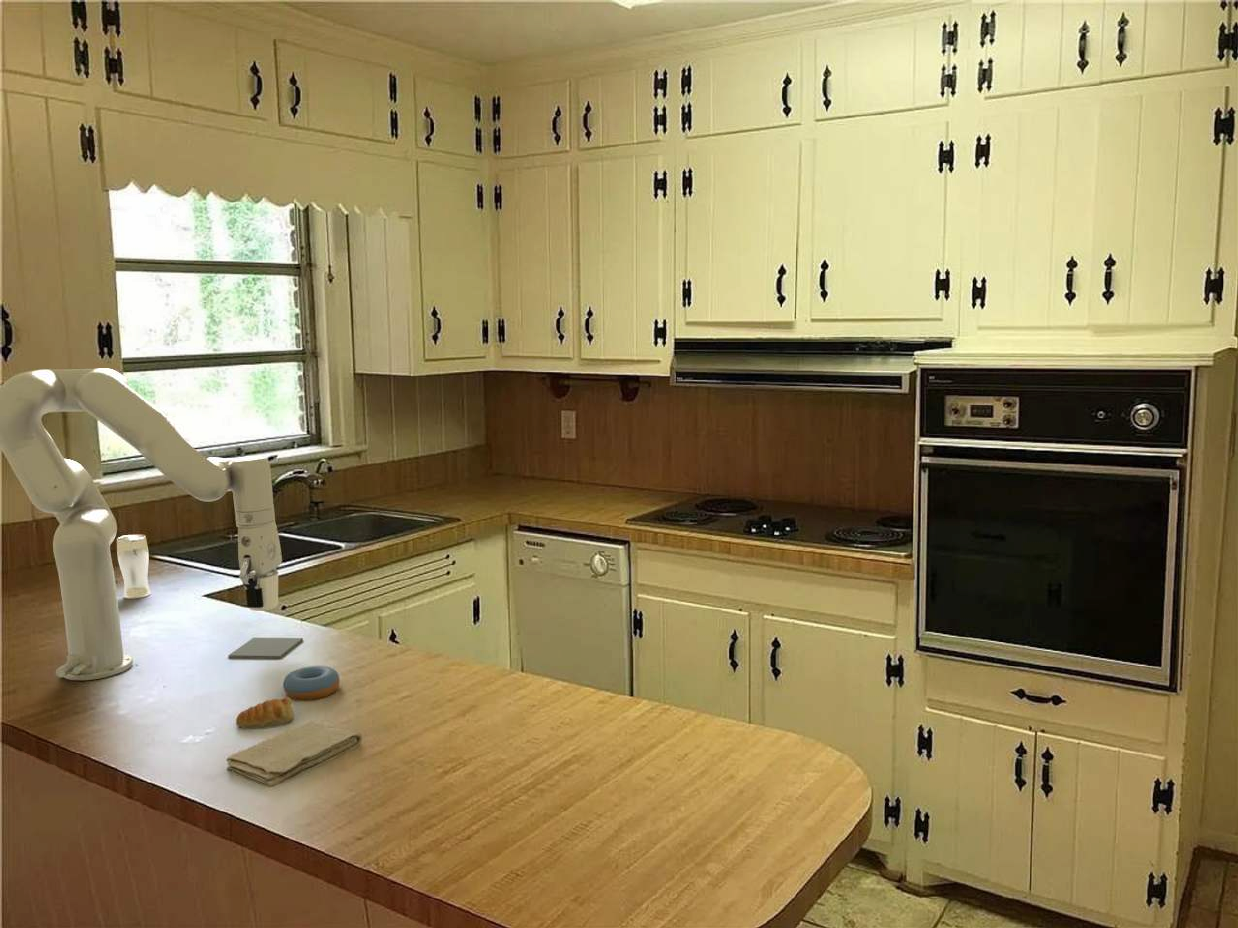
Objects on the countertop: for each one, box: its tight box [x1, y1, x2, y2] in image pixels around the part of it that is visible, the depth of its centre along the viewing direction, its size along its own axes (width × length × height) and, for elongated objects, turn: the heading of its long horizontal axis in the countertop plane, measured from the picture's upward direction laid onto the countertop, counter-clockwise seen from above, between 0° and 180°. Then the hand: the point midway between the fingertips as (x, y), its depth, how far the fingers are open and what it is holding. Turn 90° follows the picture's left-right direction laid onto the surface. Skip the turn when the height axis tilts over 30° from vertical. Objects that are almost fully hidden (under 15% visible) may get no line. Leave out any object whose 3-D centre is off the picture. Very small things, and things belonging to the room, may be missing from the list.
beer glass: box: [116, 533, 152, 600], centre depth 252 cm, size 7×7×15 cm
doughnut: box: [282, 665, 340, 701], centre depth 186 cm, size 10×10×5 cm
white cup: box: [249, 570, 279, 612], centre depth 208 cm, size 7×7×7 cm
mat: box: [228, 637, 304, 660], centre depth 210 cm, size 11×11×1 cm
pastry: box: [235, 696, 295, 730], centre depth 173 cm, size 9×7×4 cm
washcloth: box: [226, 721, 362, 787], centre depth 159 cm, size 12×18×3 cm, turn 147°
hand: (263, 601), depth 209 cm, fingers closed on white cup, 6 cm apart
